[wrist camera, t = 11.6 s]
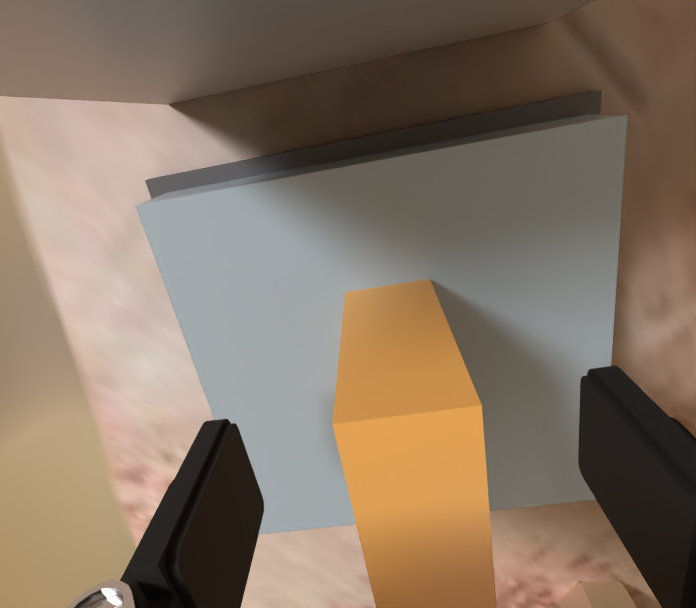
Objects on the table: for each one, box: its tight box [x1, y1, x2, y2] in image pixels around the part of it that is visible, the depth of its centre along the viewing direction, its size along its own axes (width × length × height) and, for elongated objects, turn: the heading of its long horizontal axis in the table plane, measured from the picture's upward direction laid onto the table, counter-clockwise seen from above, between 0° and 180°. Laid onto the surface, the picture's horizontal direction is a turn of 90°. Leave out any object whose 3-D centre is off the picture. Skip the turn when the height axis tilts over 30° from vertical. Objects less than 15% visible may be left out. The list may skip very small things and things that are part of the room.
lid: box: [135, 114, 628, 608], centre depth 12 cm, size 13×13×8 cm
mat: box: [145, 90, 601, 199], centre depth 16 cm, size 14×14×1 cm
